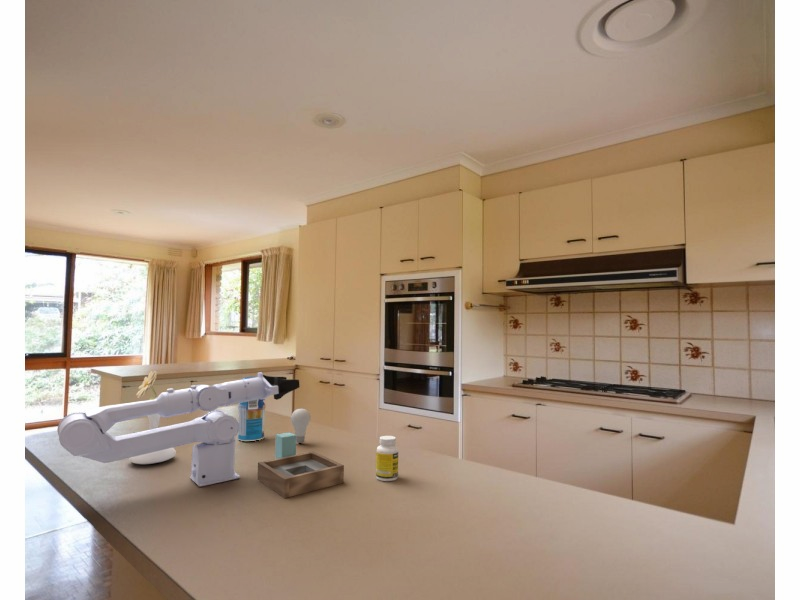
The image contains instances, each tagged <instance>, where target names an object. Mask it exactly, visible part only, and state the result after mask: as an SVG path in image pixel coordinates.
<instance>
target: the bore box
mask: <svg viewBox="0 0 800 600" xmlns="http://www.w3.org/2000/svg"><path fill="white" fill-rule="evenodd" d="M344 469H345V465H344V464H342V463H341V462H340V463H339V462H338V461H335V460H333V459H330V458H329V457H327V456H324V455H321V454H319V453H318V452H316V451H309V452H304V453H298V454H296V455H293V456H288V457H283V458H278V459H275V458H273V459H268V460H264V461H258V462H257V480H258V481H259V482H261V484H263V485H265V486H266V487H268V488H269V489H271V490H272V491H273V492H275V493H277V494H278V495H279V496H281V497H282V498H283V499H285V498H286V499H287V498H290V497H293V496H294V497H295V496H297V495H302V494H306V493H309V492H314V491H317V490H320V489H325V488H328V487H332V486H335V485H340V484H344V482H345V481H344V479H345V470H344Z"/></svg>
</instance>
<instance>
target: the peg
mask: <svg viewBox="0 0 800 600" xmlns="http://www.w3.org/2000/svg"><path fill="white" fill-rule="evenodd" d="M274 453H275V456H274V459H278V458H283V457H288V456H293V455H297V442H296V435H295V434H294V433H292V432H283V433H277V434H275V452H274Z"/></svg>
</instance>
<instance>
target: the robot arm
mask: <svg viewBox="0 0 800 600" xmlns="http://www.w3.org/2000/svg"><path fill="white" fill-rule="evenodd" d="M255 377H256V378H249V379H243V380H242V379H238V380H237V379H236V380H231V381H225V382H222V383H216V384H212V385H208V384H200V383H198V384H197V385H190V386H189V388H188V387H187V388H182V389H176V390H175V389H174V388H172V387H170V388H167V389H166V391H163V392H161V393H159V394H158V395H157V398H156V397H155V399H154V400H149V399H148V400H140V401H133V402H127V403H117V404H110V405H103V406H98V407H93V408H88V409H85V410H84V412H83V411H79V412H71V413H69V414H68V415H65V417H63V418H62V419H61V420H60V421H59V423H58V425H57V430H56V431H57V435H58V442H59V444H60V446H61V447H62V448H63V449H64V450H66V451H67V452H68V453H70V454H71V455H72V456H73V457H80V458H84V459H89V460H92V461H95V462H99V463H103V464H108V463H114V462H118V461H121V460H125V459H128V458H131V457H135V456H139V455H143V454H147V453H152V452H156V451H160V450H164V449H169V448H176V447H180V446H185V445H189V444H193V443H197V444H194V445H193V446H192V451H191V466H190V467H191V470H190V477H189V478H190V479H191V480H192V482H194V483H195V484H196V485H197V486H198V487H204V486H209V485H214V484H218V483H224V482H228V481H232V480H238V479H241V475H239V474H238V473H237V472H236V471H235V459H236V458H235V457H236V455H235V454H236V436H238V430H239V420H238V419H237V418H235V416H232V415H229V414H226V413H225V412H223V411H222V410H218V408H219V407H224V406H226V407H227V406H232V405H237V404H240V403H243V402H248V401H253V400H258V399H261V400H262V399H265V400H266V398H267V399H268V398H269V397H270V396H273V399H274V400H280V399H282V398H283V397H284V396H285V395H287V394H289V393H290V392H292V391H294V390H298V389H299V388H300V379H290V378H289V379H287V377H286V376H270V375H264V373H263V372H261V371H260V372H257V376H255ZM197 410H202V411H204V412H207V413H206V414H204V415H202V416H198V417H196V418H194V419H192V420H190V421H185V422H179V423H175V424H171V425H167V426H165V425H164V426H161V427H159V428H156V429H151V430H149V429H147V430H146V429H145V430H142V431H137V432H131V433H128V434H127V433H126V434H122V435H117V436H113V435H111V434H110V433H108V431H109V430H110V429H111V428H112V427H113V426H114V425H115V424H117V423H121V422H126V421H130V420H133V419H137V418H142V417H147V416H148V415H152V414H159V415H160V416H161V417H162V418H170V417H175V416H179V415H187V414H189V413H191V414H192V413H194V412H196V411H197Z"/></svg>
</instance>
